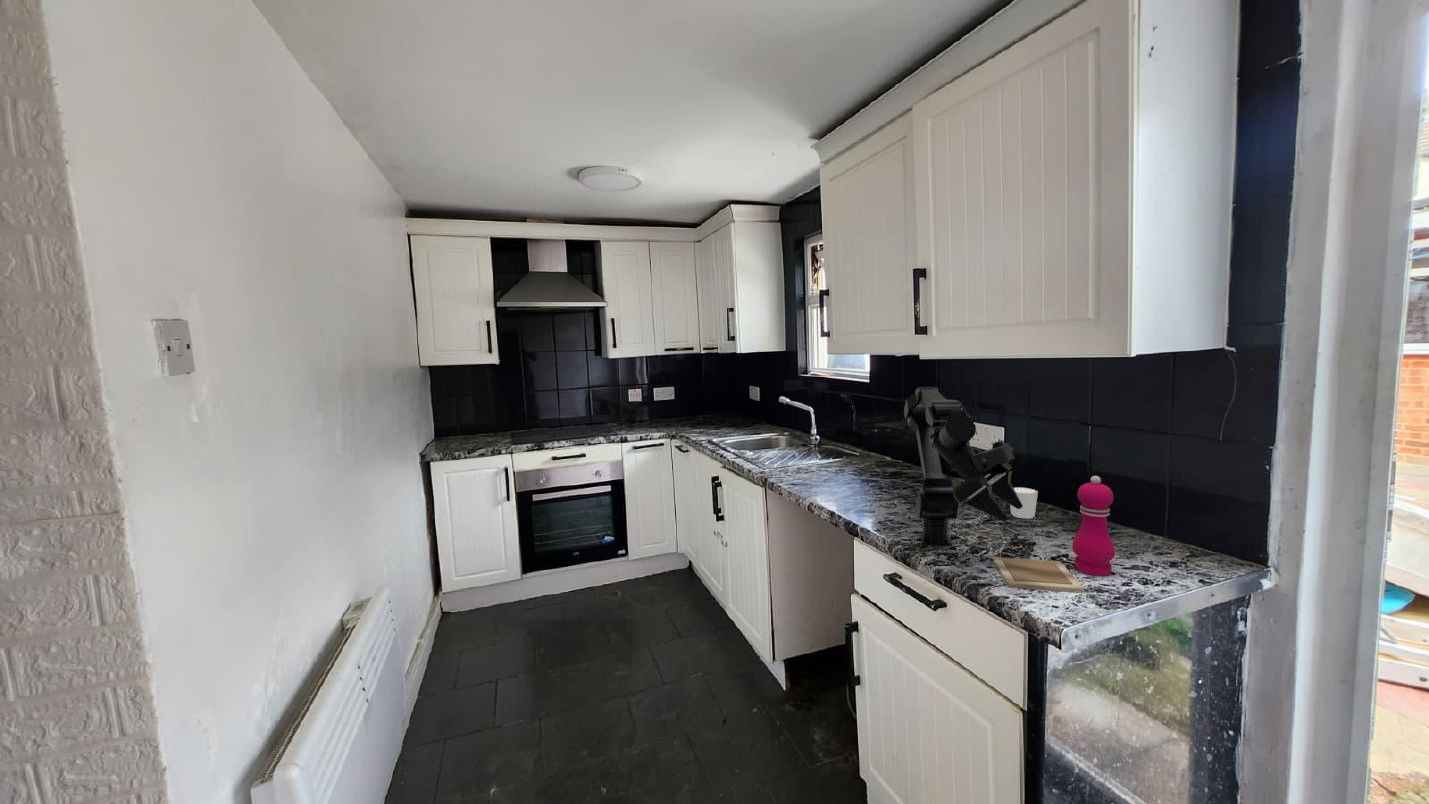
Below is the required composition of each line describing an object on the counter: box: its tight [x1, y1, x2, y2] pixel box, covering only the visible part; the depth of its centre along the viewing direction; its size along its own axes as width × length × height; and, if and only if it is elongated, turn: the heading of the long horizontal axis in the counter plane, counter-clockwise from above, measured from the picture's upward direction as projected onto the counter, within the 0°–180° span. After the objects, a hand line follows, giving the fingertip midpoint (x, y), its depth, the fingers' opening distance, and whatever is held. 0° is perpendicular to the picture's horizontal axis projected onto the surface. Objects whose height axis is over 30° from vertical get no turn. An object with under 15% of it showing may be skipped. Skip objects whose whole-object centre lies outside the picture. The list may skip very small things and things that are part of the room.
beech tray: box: [992, 556, 1085, 594], centre depth 109 cm, size 13×13×1 cm
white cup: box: [1009, 486, 1039, 520], centre depth 144 cm, size 7×7×7 cm
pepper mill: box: [1071, 475, 1116, 577], centre depth 109 cm, size 7×7×20 cm
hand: (1014, 513), depth 107 cm, fingers open, 9 cm apart
